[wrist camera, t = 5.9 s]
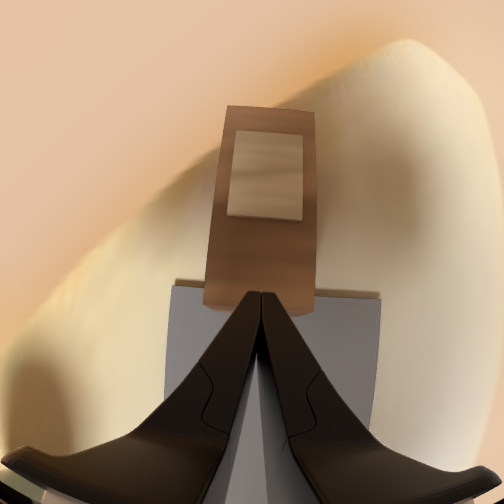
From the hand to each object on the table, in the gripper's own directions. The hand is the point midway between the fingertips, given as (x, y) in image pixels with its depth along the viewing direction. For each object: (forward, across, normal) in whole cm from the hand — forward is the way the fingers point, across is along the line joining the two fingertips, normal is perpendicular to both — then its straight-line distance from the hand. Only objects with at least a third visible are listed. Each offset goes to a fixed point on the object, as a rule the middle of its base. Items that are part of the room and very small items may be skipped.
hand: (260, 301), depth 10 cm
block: (+3, 0, +4) cm, 5 cm away
